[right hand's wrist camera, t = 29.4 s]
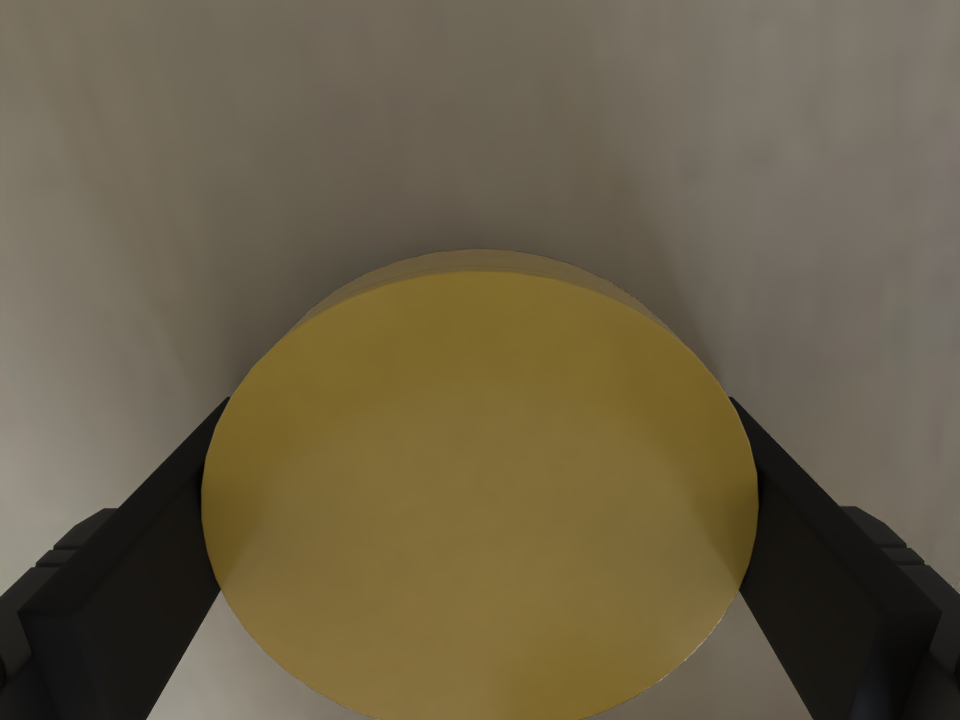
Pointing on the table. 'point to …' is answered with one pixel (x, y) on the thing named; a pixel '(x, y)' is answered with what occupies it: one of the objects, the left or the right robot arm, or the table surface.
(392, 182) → the table surface
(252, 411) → the lid
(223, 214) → the table surface
